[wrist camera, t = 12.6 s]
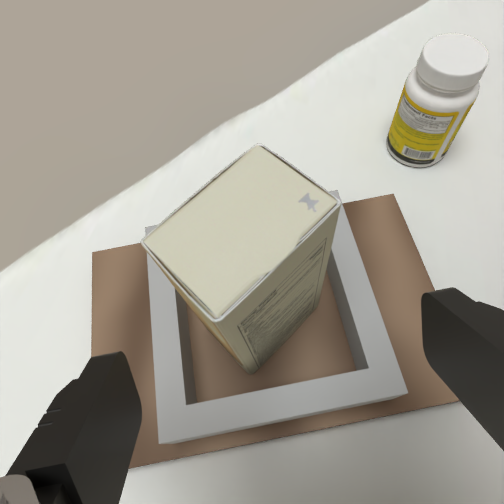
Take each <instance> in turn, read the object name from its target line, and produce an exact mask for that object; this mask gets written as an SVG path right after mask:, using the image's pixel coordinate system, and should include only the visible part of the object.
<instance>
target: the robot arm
mask: <svg viewBox="0 0 504 504" xmlns="http://www.w3.org/2000/svg"><path fill="white" fill-rule="evenodd" d="M421 317H422V341H423V349H424V353H425V356H426V359H427V361H428V363H429V365H430V366H431V368H432V369H433V370H434V371H435V372H436V374H437V375H438V376H439V377H440V378H441V379H442V380H443V382H444V383H445V384H446V385H447V386H448V387H449V389H450V390H451V391H452V392H453V393H454V394H455V395H456V397H457V398H458V399H459V400H460V401H461V402H462V404H463V405H464V406H465V407H466V408H467V409H468V410H469V412H470V413H471V414H472V415H473V416H474V417H475V418H476V420H477V421H478V422H479V423H480V424H481V425H482V427H483V428H484V429H485V430H486V431H487V432H488V433H489V435H490V436H491V437H492V438H493V439H494V440H495V442H496V443H497V444H498V445H499V446H500V447H501V448H502V450H503V451H504V311H503V310H502V309H500V308H497V307H494V306H491V305H488V304H485V303H482V302H475V301H474V300H472V299H471V298H469V297H468V296H466V295H465V294H463V293H462V292H460V291H459V290H458V289H456V288H447V289H442V290H436V291H431V292H426V293H424V294H423V295H422V297H421ZM141 422H142V406H141V400H140V397H139V394H138V391H137V388H136V385H135V382H134V379H133V376H132V373H131V370H130V367H129V364H128V360H127V358H126V356H125V354H124V353H123V352H122V351H119V352H114V353H108V354H103V355H98V356H93V357H91V358H90V360H89V361H88V363H87V365H86V367H85V368H84V370H83V372H82V373H81V375H80V377H79V379H75V380H72V381H71V382H70V383H69V384H68V385H67V386H66V387H65V388H63V389H62V390H61V391H60V392H59V393H58V394H57V395H56V396H55V398H54V400H53V401H52V403H51V404H50V406H49V408H48V409H47V414H44V415H43V417H42V419H41V420H40V422H39V423H38V428H35V430H34V431H33V433H32V434H31V436H30V438H29V439H28V441H27V442H26V444H25V446H24V447H23V449H22V450H21V452H20V454H19V455H18V457H17V458H16V460H15V461H14V463H13V465H12V466H11V468H10V469H9V471H8V473H7V474H6V476H4V477H1V478H0V504H119V501H120V497H121V494H122V490H123V487H124V483H125V480H126V476H127V472H128V469H129V465H130V462H131V458H132V455H133V451H134V448H135V444H136V440H137V437H138V433H139V430H140V426H141Z"/></svg>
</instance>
